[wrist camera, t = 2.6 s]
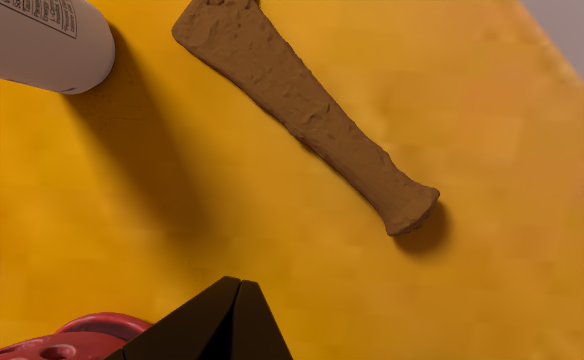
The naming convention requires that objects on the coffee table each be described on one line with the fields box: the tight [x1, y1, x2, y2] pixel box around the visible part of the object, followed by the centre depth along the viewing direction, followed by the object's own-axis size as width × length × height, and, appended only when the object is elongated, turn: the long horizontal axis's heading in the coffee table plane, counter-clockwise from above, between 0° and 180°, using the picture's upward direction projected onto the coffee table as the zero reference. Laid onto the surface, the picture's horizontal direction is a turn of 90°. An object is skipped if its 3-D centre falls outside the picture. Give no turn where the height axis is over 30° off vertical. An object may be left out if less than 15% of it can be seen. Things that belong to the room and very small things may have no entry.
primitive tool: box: [171, 0, 440, 236], centre depth 18 cm, size 19×6×4 cm, turn 48°
